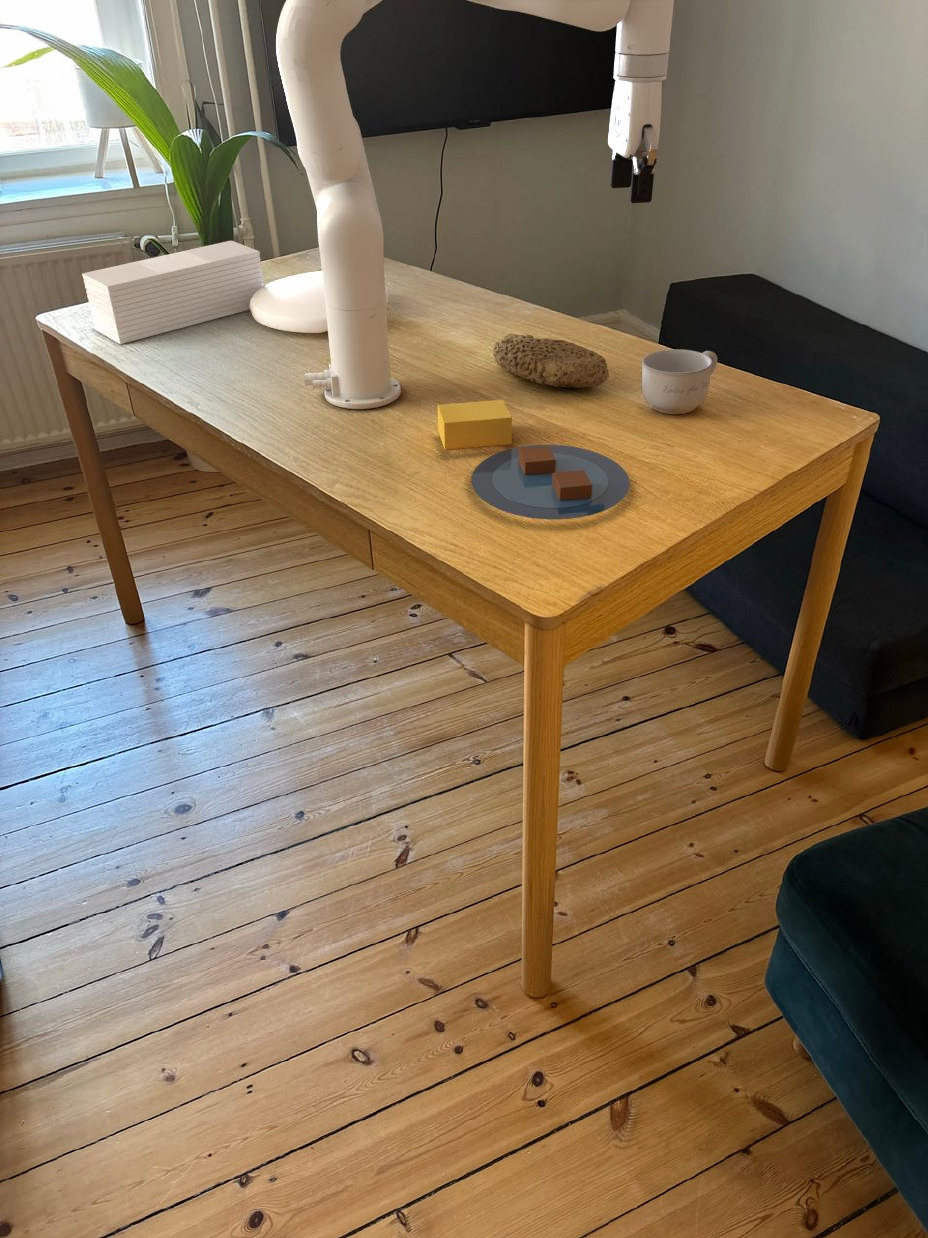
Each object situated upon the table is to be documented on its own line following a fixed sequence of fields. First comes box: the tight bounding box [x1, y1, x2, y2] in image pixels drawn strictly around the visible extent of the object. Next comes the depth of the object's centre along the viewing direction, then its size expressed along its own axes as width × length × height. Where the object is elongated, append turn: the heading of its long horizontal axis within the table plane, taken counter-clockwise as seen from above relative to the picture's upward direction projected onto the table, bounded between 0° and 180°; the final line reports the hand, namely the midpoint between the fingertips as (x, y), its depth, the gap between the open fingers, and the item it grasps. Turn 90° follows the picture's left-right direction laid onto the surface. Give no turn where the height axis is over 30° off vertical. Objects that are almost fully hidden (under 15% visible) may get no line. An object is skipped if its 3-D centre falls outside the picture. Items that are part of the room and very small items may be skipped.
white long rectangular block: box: [81, 240, 265, 345], centre depth 192 cm, size 32×11×11 cm, turn 132°
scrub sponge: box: [437, 399, 513, 451], centre depth 146 cm, size 10×6×6 cm, turn 99°
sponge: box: [492, 333, 610, 389], centre depth 165 cm, size 13×8×20 cm
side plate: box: [470, 444, 631, 521], centre depth 136 cm, size 22×22×1 cm
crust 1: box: [518, 446, 556, 475], centre depth 138 cm, size 4×4×2 cm
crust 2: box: [552, 470, 592, 501], centre depth 132 cm, size 4×4×2 cm
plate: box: [249, 270, 390, 334], centre depth 194 cm, size 28×6×27 cm
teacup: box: [641, 348, 718, 415], centre depth 156 cm, size 14×11×8 cm
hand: (630, 194), depth 150 cm, fingers open, 9 cm apart
